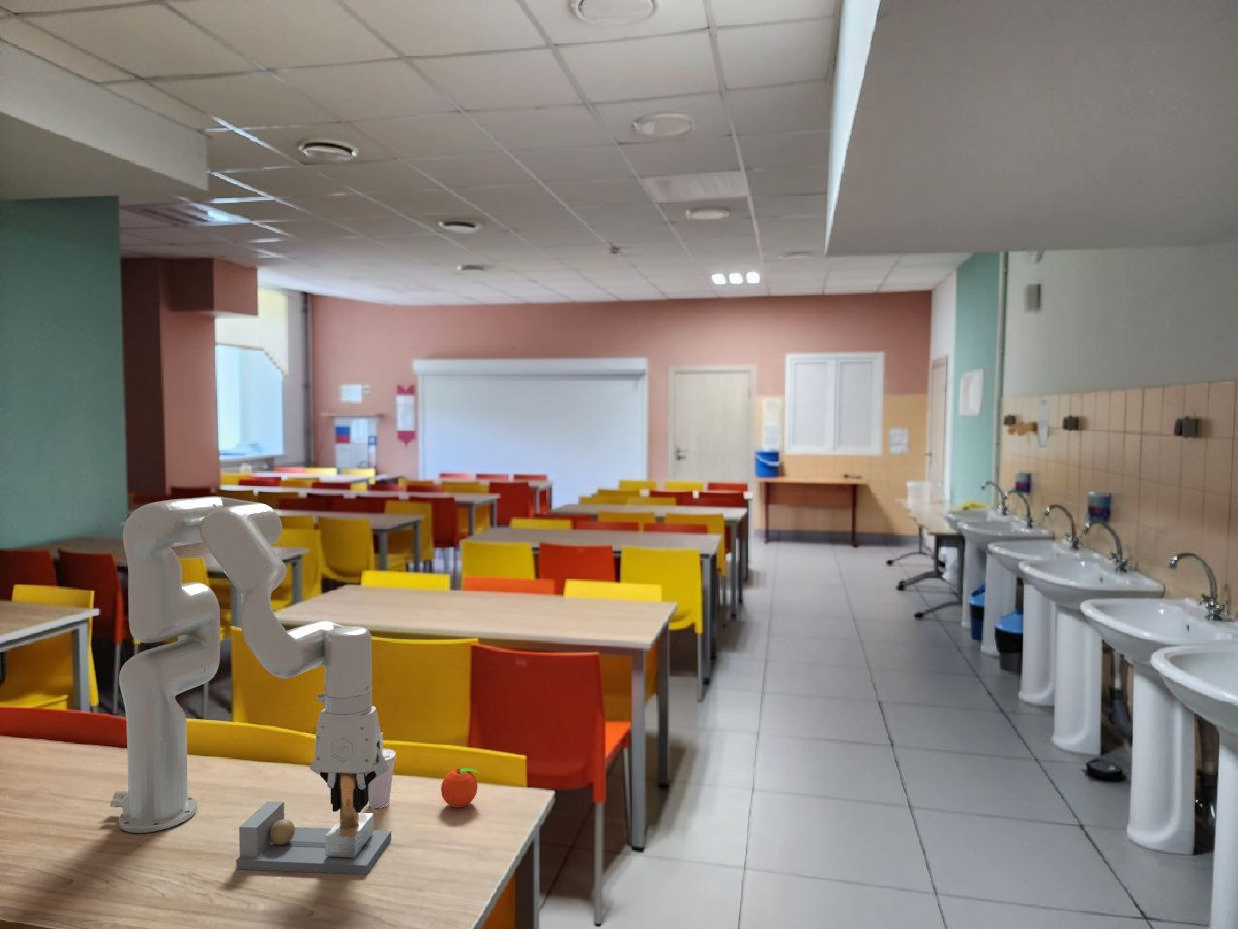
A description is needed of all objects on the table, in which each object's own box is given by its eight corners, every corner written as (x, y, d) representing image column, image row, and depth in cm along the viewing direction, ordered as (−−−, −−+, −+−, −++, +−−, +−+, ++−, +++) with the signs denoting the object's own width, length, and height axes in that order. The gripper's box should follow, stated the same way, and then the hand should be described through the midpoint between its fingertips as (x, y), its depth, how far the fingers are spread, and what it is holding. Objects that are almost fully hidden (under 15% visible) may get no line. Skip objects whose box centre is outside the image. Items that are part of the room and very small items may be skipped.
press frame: (236, 868, 127) (235, 830, 127) (270, 834, 138) (270, 798, 138) (366, 874, 126) (366, 835, 126) (391, 839, 137) (390, 803, 137)
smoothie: (386, 814, 146) (385, 740, 145) (355, 810, 147) (354, 738, 147) (402, 798, 152) (401, 728, 152) (372, 795, 154) (371, 725, 153)
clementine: (477, 793, 155) (477, 758, 154) (487, 808, 148) (487, 772, 148) (437, 801, 151) (437, 765, 151) (445, 817, 145) (445, 780, 145)
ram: (325, 856, 128) (324, 766, 127) (345, 831, 136) (344, 747, 135) (354, 857, 127) (353, 767, 127) (373, 832, 135) (372, 748, 135)
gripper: (290, 708, 128) (291, 817, 128) (388, 711, 126) (389, 821, 127) (311, 693, 135) (312, 796, 136) (404, 695, 134) (404, 800, 135)
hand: (349, 807), depth 131 cm, fingers closed on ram, 3 cm apart
